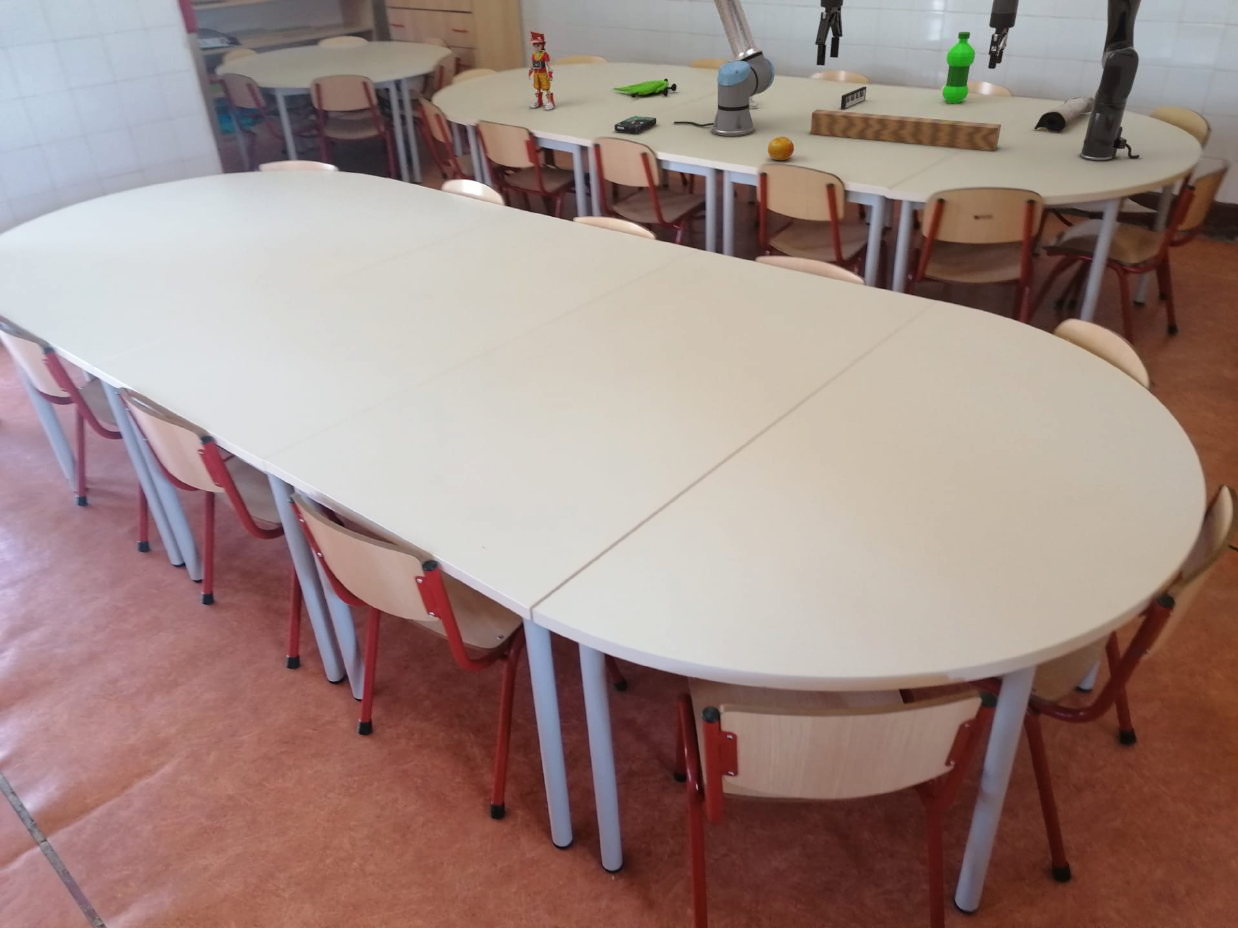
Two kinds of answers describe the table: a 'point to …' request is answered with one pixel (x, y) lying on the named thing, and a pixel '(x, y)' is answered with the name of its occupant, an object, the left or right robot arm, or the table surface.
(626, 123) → the disk drive
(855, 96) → the midi keyboard
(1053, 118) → the rolled mat
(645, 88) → the toy
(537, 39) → the toy
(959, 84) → the plastic bottle
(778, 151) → the fruit
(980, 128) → the beam
